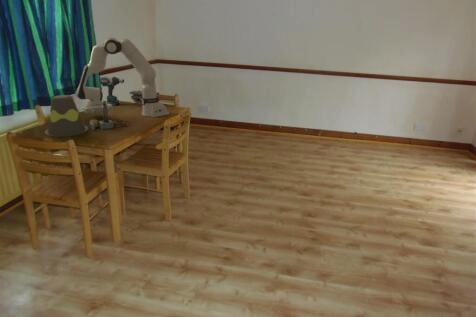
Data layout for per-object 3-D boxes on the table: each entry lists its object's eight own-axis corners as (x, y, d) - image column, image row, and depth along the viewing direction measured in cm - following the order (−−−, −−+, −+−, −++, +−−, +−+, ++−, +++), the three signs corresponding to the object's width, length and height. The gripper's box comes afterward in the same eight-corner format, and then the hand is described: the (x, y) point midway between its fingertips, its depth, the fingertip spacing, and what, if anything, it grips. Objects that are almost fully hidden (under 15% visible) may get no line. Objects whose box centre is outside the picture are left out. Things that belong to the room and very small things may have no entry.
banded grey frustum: (40, 137, 239) (34, 101, 230) (48, 126, 264) (43, 92, 255) (86, 135, 246) (82, 99, 238) (89, 124, 271) (86, 91, 263)
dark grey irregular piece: (159, 104, 339) (159, 92, 335) (156, 106, 332) (155, 94, 328) (134, 102, 343) (133, 90, 339) (130, 104, 336) (129, 92, 332)
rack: (123, 123, 276) (123, 119, 275) (127, 125, 270) (126, 122, 269) (112, 124, 272) (112, 120, 271) (116, 127, 266) (115, 123, 265)
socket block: (110, 125, 271) (110, 119, 269) (113, 127, 265) (113, 122, 263) (89, 127, 263) (89, 122, 261) (92, 130, 257) (92, 124, 256)
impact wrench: (123, 106, 326) (121, 78, 317) (100, 104, 330) (97, 76, 321) (128, 104, 333) (125, 76, 324) (105, 102, 337) (102, 75, 328)
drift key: (96, 124, 270) (95, 118, 269) (98, 127, 265) (98, 121, 263) (90, 125, 268) (89, 119, 267) (93, 127, 262) (92, 122, 261)
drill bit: (108, 126, 268) (105, 100, 261) (109, 127, 265) (107, 101, 259) (103, 126, 266) (101, 100, 259) (105, 127, 264) (102, 101, 257)
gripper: (81, 104, 275) (85, 108, 264) (109, 101, 286) (114, 105, 275) (82, 112, 277) (86, 116, 267) (109, 109, 288) (115, 113, 278)
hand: (101, 110), depth 271 cm, fingers open, 8 cm apart
